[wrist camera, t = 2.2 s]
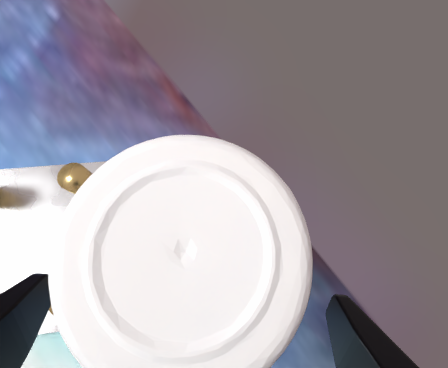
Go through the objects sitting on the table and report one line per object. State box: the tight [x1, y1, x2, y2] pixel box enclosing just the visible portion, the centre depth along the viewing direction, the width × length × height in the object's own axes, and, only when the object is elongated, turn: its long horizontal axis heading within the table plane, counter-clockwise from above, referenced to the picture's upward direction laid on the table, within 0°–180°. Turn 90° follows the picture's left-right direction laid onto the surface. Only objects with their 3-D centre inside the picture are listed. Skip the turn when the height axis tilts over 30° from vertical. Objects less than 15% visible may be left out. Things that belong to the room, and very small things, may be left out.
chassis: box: [0, 161, 107, 334], centre depth 15 cm, size 10×10×4 cm
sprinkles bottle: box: [48, 135, 313, 368], centre depth 11 cm, size 5×5×14 cm
